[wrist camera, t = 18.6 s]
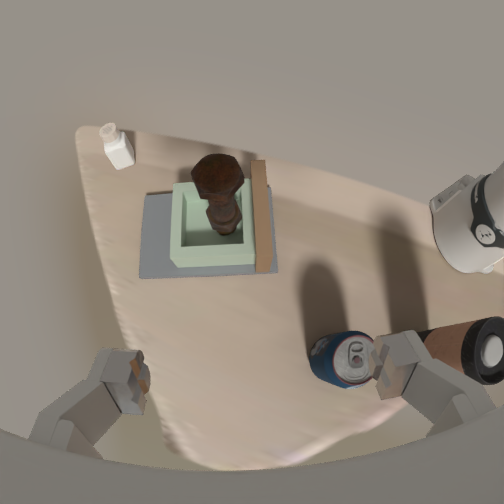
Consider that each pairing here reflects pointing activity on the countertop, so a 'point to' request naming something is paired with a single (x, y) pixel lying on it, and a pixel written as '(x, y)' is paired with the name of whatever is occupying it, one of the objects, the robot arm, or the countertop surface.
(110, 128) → the pepper shaker
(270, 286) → the countertop surface
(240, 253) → the socket block
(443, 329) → the travel mug
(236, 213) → the bolt
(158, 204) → the backstop board
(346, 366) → the soda can
